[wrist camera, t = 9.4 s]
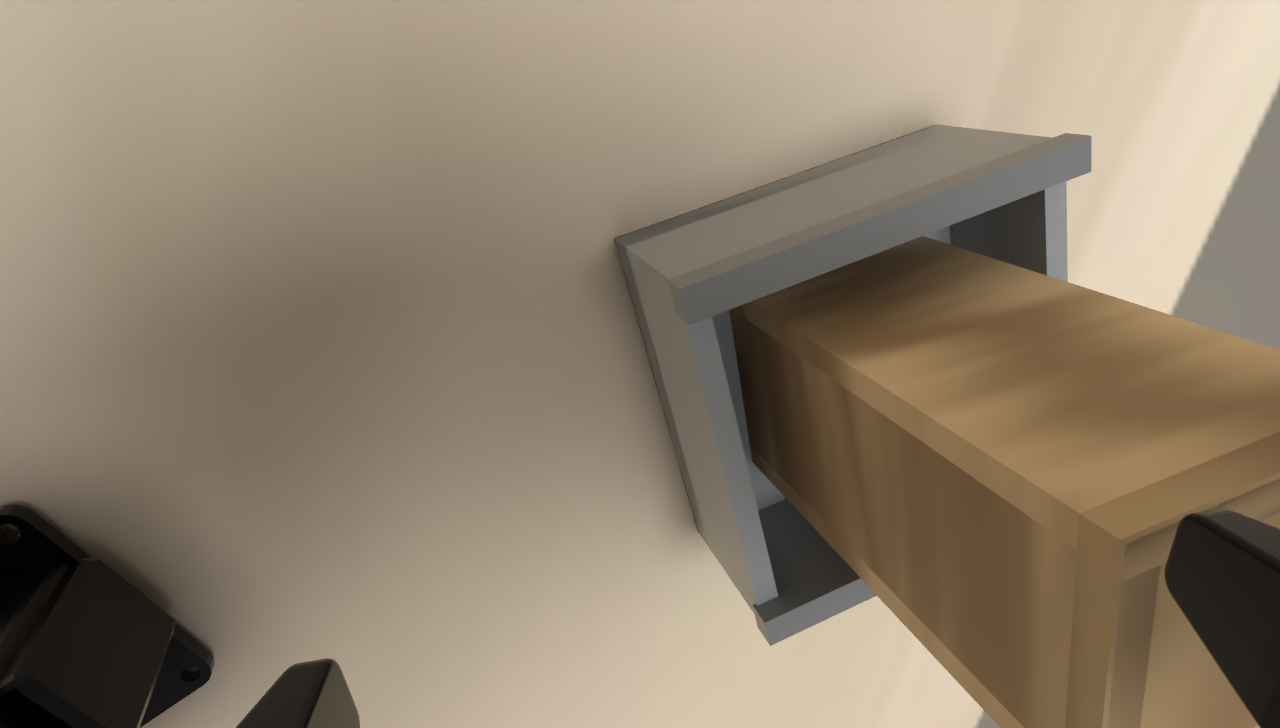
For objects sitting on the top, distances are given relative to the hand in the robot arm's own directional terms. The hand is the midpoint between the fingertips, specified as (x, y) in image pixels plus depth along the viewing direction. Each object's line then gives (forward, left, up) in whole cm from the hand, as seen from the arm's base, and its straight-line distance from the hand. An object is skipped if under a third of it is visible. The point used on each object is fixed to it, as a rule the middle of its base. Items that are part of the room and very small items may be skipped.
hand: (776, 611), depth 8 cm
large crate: (+6, -6, -13) cm, 15 cm away
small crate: (+6, -6, -12) cm, 14 cm away
